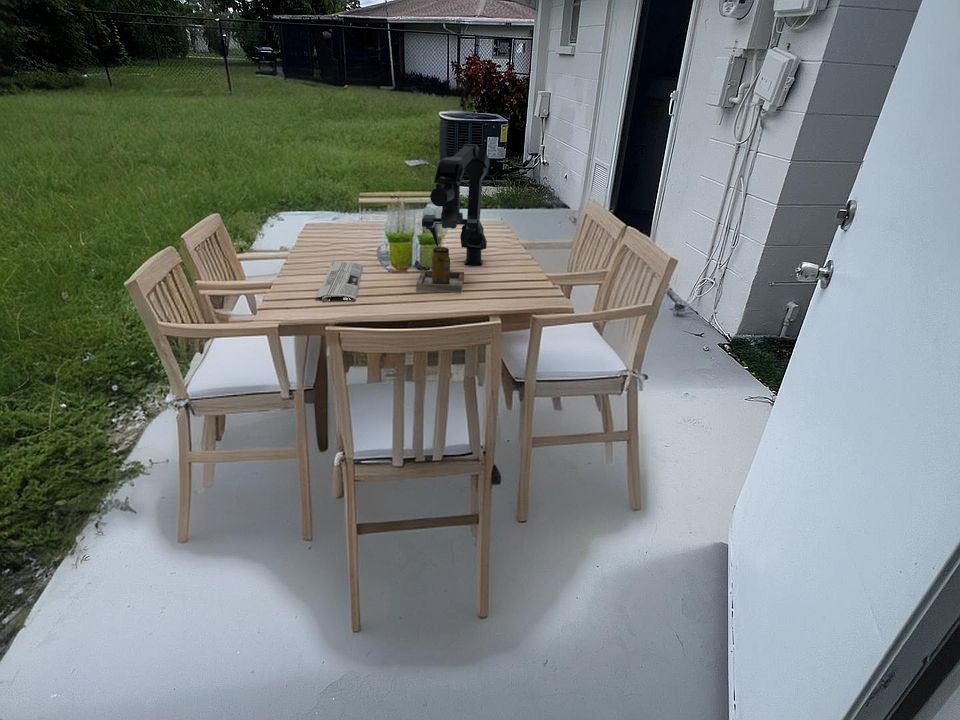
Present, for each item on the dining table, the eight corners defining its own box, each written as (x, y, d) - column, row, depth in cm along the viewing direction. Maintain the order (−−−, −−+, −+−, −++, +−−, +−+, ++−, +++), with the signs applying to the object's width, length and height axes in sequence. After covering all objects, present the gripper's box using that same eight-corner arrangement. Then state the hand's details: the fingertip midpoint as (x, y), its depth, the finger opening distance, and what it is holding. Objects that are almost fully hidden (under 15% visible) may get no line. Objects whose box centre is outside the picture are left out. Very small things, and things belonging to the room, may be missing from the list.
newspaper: (355, 303, 179) (354, 292, 177) (315, 303, 177) (314, 293, 176) (363, 268, 210) (362, 259, 208) (328, 268, 208) (328, 259, 207)
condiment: (446, 278, 199) (446, 245, 194) (456, 286, 193) (457, 251, 187) (427, 281, 196) (426, 247, 190) (437, 289, 189) (437, 254, 184)
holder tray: (421, 277, 201) (421, 270, 200) (464, 278, 201) (464, 271, 200) (416, 291, 188) (416, 284, 187) (461, 293, 188) (461, 286, 186)
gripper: (418, 204, 178) (420, 253, 185) (478, 206, 177) (477, 255, 184) (423, 197, 187) (424, 243, 195) (480, 198, 187) (479, 245, 194)
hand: (451, 246), depth 192 cm, fingers open, 9 cm apart
